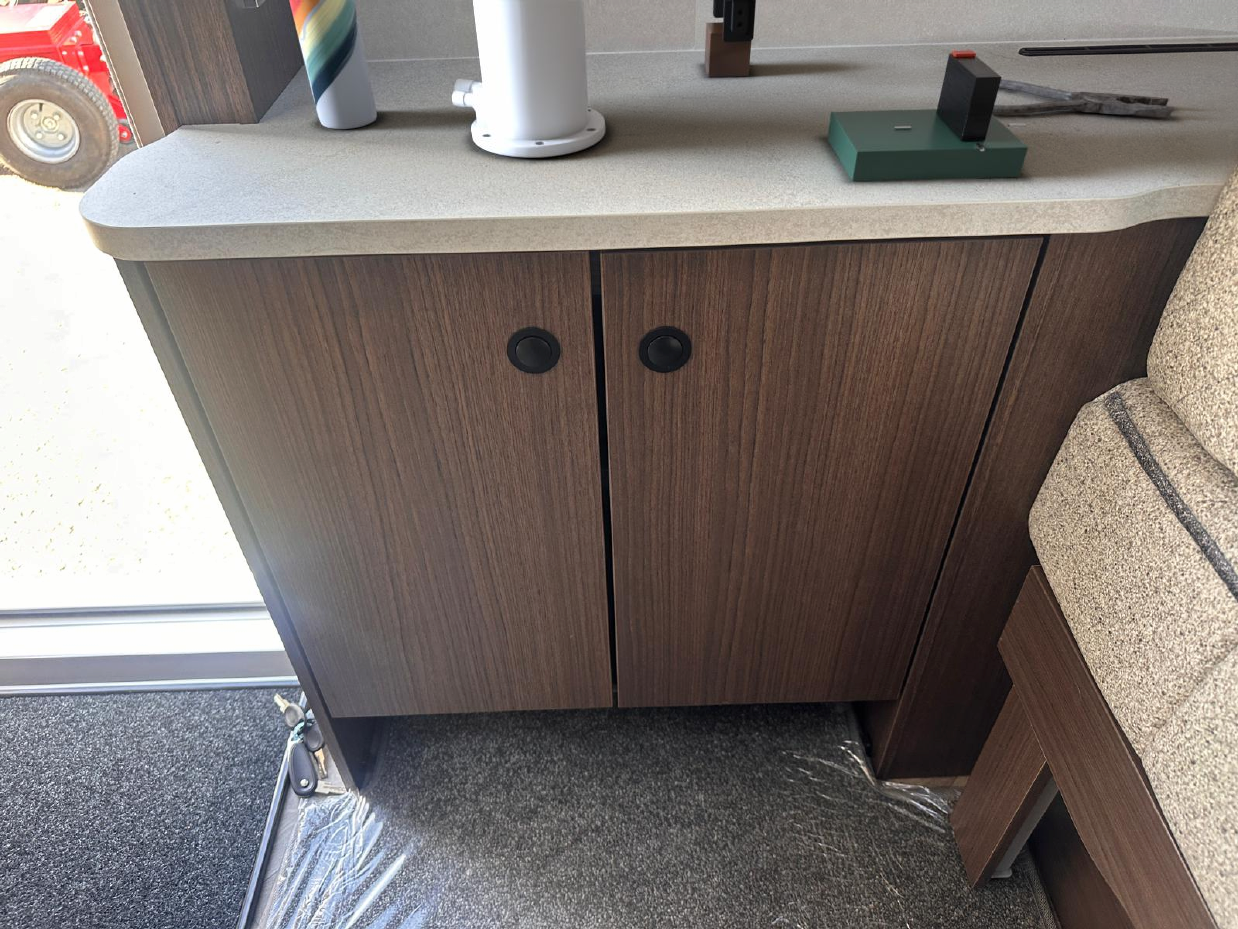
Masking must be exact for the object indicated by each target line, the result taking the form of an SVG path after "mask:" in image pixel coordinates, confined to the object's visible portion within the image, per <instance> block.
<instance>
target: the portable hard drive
mask: <svg viewBox="0 0 1238 929" xmlns="http://www.w3.org/2000/svg"><path fill="white" fill-rule="evenodd" d="M1001 79H1002V76H1001V75H1000V74H998V73H997V72H996V71H995V70H994V69H992V68H991V67H990V66H989V65H987V63H985V62H984V61H983V60H981V59H980V58H979V57H978V56H977V53H976V52H975V51H973V49H971V50H970V49H969V50H951V53H948V58H947V62H946V67H945V72H944V76H943V81H942V85H941V89H940V93H939V97H938V98H939V99H938V102H937V106H938V107H936V109H937V111H936V114H937V115H938V116H939V117H940V118H941V120H942V121H943V122H944V123H945V124H946V125H947V126H948V127H949V128H950V130H951V131H952V132H953V133H954V134H955V135H956V136H957V137H958V138H959V139H960V141H985V139H986V135H987V131H988V127H989V124H990V120H991V116H992V115H993V113H992V112H993V108H994V105H996V101H997V97H998V94H999V89H1000V87H999V86H1000V82H1001Z"/></svg>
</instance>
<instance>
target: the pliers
mask: <svg viewBox="0 0 1238 929" xmlns="http://www.w3.org/2000/svg"><path fill="white" fill-rule="evenodd" d="M999 88H1000V89H1001V88H1002V89H1008V90H1015V91H1019V92H1023V93H1028V94H1033V95H1036V96H1042V97H1046V98H1049V99H1055V101H1045V102H1037V103H1027V104H1010V105H1009V104H1007V105H1005V104H995V105H994V108H993V112H992V114H993V115H994V114H995V115H996V114H998V115H1024V114H1025V115H1026V114H1036V113H1046V112H1047V113H1048V112H1059V111H1061V112H1062V111H1074V112H1075V111H1076V112H1082V113H1098V114H1107V115H1123V116H1139V117H1155V118H1156V117H1159V118H1170V117H1171V114H1172V112H1173V109H1174V107H1173V106H1167V105H1168V103H1169V101H1170V98H1168V97H1156V96H1148V95H1147V96H1143V95H1133V94H1121V93H1111V92H1090V91H1068V90H1062V89H1057V88H1052V87H1047V86H1043V85H1037V84H1033V83H1028V82H1024V81H1017V80H1011V79H1004V78H1003V79H1002V78H1001V82H1000V86H999Z"/></svg>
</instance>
